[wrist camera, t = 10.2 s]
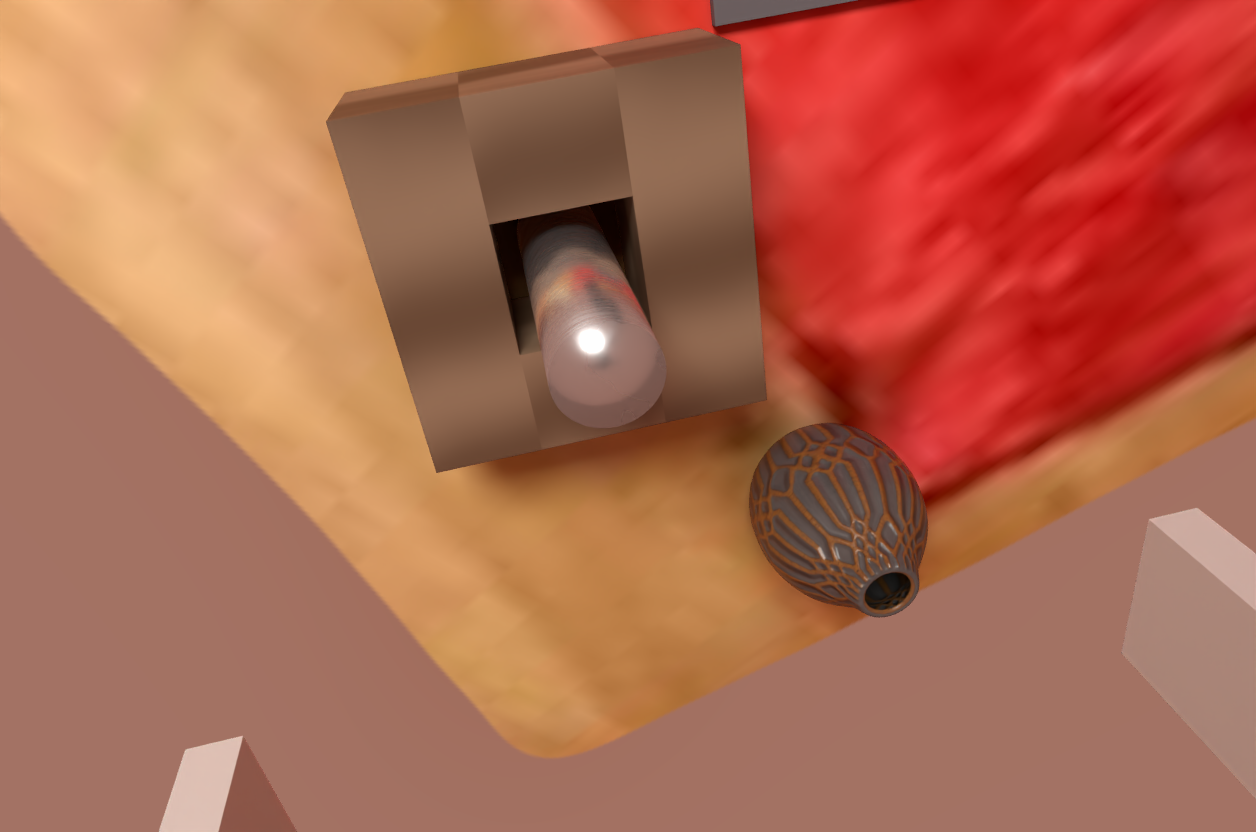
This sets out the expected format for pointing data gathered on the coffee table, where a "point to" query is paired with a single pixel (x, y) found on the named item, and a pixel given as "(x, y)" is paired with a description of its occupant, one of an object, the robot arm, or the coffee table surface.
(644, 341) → the peg
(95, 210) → the coffee table surface
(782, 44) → the coffee table surface
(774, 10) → the mat
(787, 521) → the vase
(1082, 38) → the coffee table surface
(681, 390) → the block
